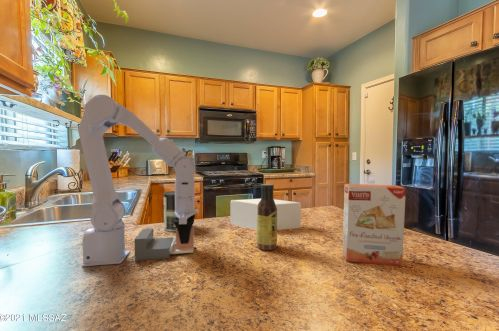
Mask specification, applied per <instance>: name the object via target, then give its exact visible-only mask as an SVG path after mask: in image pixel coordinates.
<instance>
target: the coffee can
mask: <svg viewBox="0 0 499 331" xmlns="http://www.w3.org/2000/svg"><path fill="white" fill-rule="evenodd" d="M162 195H163V230H164V231H165V232H173V233H176V226H175V224H174V220H177V219H176V217H177V216H175V214H174V212H175V190H173V191H166V192H163V194H162Z"/></svg>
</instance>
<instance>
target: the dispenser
mask: <svg viewBox="0 0 499 331" xmlns="http://www.w3.org/2000/svg"><path fill="white" fill-rule="evenodd" d="M133 241H134V261H135V262H137V261H148V260H150V261H151V260H152V261H153V260H162V259H163V260H164V259H170V258H171V254H170V252H172V251H173V248H174V245H175V244H176V237H172V236H171V237H156V238H155V237H154V228H153V227H152V228H142V230H141V231H139V233H138V234H137V236H136V237H135V238H134V240H133Z"/></svg>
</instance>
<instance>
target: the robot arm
mask: <svg viewBox="0 0 499 331" xmlns="http://www.w3.org/2000/svg"><path fill="white" fill-rule="evenodd" d="M118 124H120V125H122V126H125V127H129V128H131V130H133V131H134V132H135V133H137V134H138V135H139V136H141V137H142V138H143V139H144V140H146V142H148V143H149V144H150V145H151V146H152V147H151V148H152V153H153V154H154V155H156V156H157V157H158V158H160V159H161V160H162V161H163V162H164V163H165V164H166V165H167V166H168V167H173V170H174V172H175V180H174V191H175V212H174V214H175V216H177V217H176V219H177V220H174V224H175V226H176V228H177V230H178V233H179V238H180V242H181V244H188V242H189V238H190V231H191V228H192V226H194V223H195V218H196V214H199V209H195V207H196V205H195V204H196V203H195V202H196V201H195V197H196V196H195V192H196V191H195V190H196V189H195V180H194V179H195V170H196V165H195V162H194V160H193V159H192V158H191V157H190V156H187V152H186V151H182V150H181V149H180V147H179V146H178V145H176V144H175V141H174V139H172V138H170V139H169V138H168V137H160V136H158V135H157V134H156V133H155V132H154V131H153V130H152V129H151V128H150V127H149V126H148V125H146V123H144V122H143V120H141V119H140V118H139V117H138V116H137V115H136V114H135V113H133V112H132V111H131V110H130V109H128V108H126V107H125V106H123V105H122V104H120V103H118V102H116V101H115V100H114V98H112V97H111V96H109V95H106V94H98V95H94V96H93V97H92V98H91V99H89V100H88V101H87V102H86V103H85V104H84V112H83V115H82V116H81V120H80V123H79V124H78V129H77V131H78V135H79V141H80V144H81V148H82V152H83V158H84V161H85V165H86V169H87V173H88V178H89V181H90V185H91V190H92V191H91V192H92V193H93V194H92V195H93V197H92V201H91V210H92V213H91V215H90V223H91V225H92V227H90V228H87V229H86V230H85V232H84V234H83V237H82V263H81V267H93V266H106V265H117V264H121V263H123V262H124V260H125V259H126V258H127V256H128V255H129V254H130V252H131V250H130V249H129V250H127V249H126V243H125V242H126V238H125V235H126V233H125V230H126V229H125V222H124V221H123V217H124V216H125V215H126V207H125V205H124V203H123V202H122V201H121V199H120V195H119V194H118V193H117V191H116V188H115V184H114V180H113V176H112V171H111V168H110V162H109V158H108V155H107V154H108V153H107V150H106V145H105V140H104V135H105V133H106V132H107V131H109V129H110V128H112V127H114V126H115V125H118Z"/></svg>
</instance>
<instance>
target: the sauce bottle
mask: <svg viewBox="0 0 499 331" xmlns="http://www.w3.org/2000/svg"><path fill="white" fill-rule="evenodd" d="M274 188H275V187H274V184H271V183H263V184H262V183H261V184H260V191H261V193H260V194H261V196H260V199H261V200H260V202H259V204H258V214H257V230H256V243H257V248H258V249H260V250H262V251H273V250H275V249H276V248H277V243H278V230H277V208H276V205H275V202H274V199H275V198H274Z"/></svg>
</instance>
